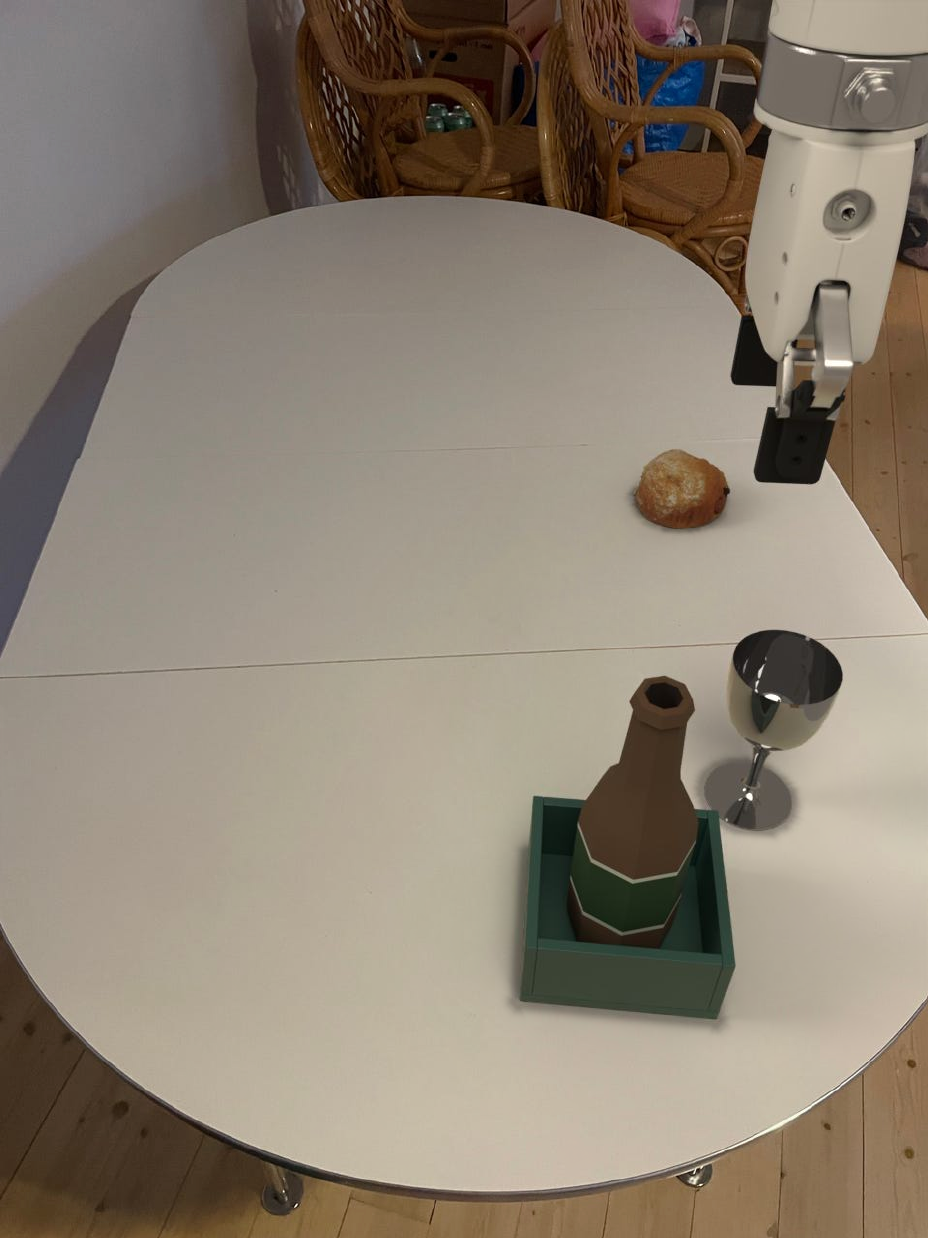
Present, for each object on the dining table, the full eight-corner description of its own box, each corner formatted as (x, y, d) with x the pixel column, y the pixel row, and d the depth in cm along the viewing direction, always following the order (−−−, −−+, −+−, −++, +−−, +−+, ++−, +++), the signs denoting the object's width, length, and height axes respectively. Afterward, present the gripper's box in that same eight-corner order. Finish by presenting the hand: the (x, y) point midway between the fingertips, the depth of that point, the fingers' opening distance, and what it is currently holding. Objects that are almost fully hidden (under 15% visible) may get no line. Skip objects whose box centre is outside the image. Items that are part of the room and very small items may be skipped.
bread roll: (644, 502, 124) (622, 448, 119) (730, 476, 120) (711, 420, 115) (647, 554, 116) (624, 498, 112) (739, 528, 113) (718, 469, 108)
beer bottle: (673, 885, 79) (731, 656, 63) (670, 979, 73) (733, 753, 57) (570, 869, 80) (602, 639, 64) (559, 961, 74) (591, 733, 58)
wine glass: (718, 840, 83) (755, 710, 73) (686, 764, 89) (717, 634, 79) (812, 828, 84) (862, 698, 74) (775, 753, 90) (816, 624, 80)
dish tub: (702, 866, 81) (718, 810, 76) (716, 1019, 72) (735, 966, 67) (528, 851, 82) (533, 795, 77) (519, 1001, 73) (524, 947, 68)
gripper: (1002, 151, 38) (877, 528, 49) (891, 33, 51) (812, 354, 62) (793, 146, 38) (717, 521, 50) (735, 31, 51) (686, 350, 63)
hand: (770, 428), depth 56 cm, fingers open, 9 cm apart
